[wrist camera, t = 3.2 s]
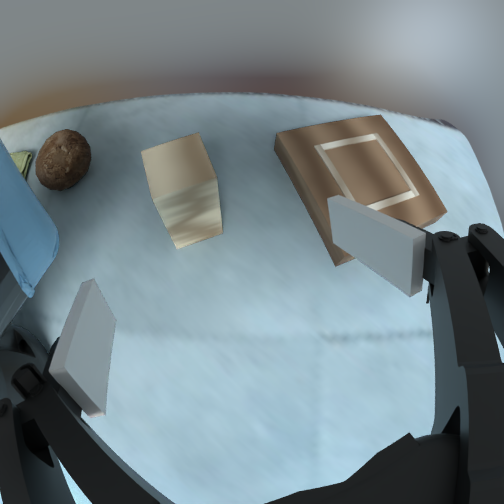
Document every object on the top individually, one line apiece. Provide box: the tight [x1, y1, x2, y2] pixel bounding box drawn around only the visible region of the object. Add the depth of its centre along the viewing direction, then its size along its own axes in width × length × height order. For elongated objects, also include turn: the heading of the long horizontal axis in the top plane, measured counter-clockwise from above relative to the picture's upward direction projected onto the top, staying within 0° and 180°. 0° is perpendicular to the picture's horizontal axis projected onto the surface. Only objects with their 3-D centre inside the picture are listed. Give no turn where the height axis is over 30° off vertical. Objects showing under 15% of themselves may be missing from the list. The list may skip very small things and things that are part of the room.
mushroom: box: [36, 129, 91, 191], centre depth 31 cm, size 8×8×6 cm
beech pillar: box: [141, 132, 223, 249], centre depth 26 cm, size 5×5×10 cm
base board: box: [274, 115, 447, 267], centre depth 32 cm, size 16×16×3 cm
